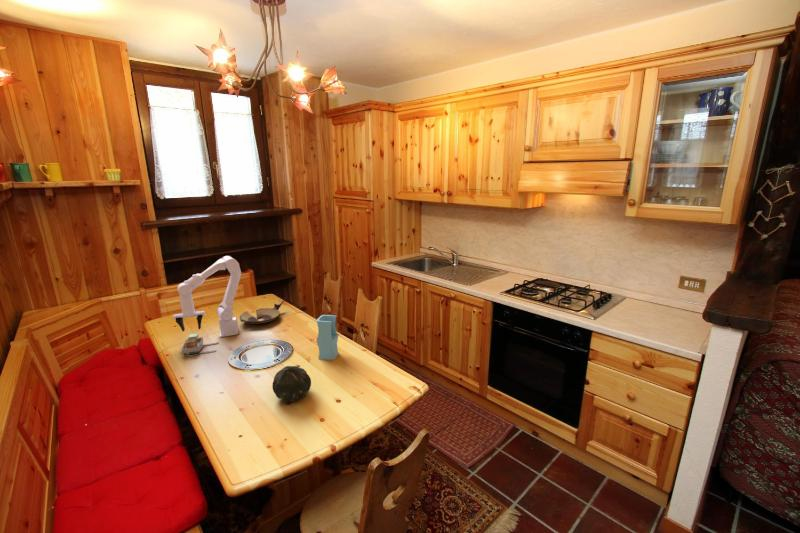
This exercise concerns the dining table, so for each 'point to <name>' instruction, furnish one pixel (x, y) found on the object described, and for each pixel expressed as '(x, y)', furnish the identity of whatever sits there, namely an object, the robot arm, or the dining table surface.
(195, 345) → the copper block
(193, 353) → the rails
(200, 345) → the grey shallow tray
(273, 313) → the broken bowl
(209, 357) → the dining table surface
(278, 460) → the dining table surface
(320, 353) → the vase
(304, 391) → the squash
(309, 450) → the dining table surface
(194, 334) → the green block
